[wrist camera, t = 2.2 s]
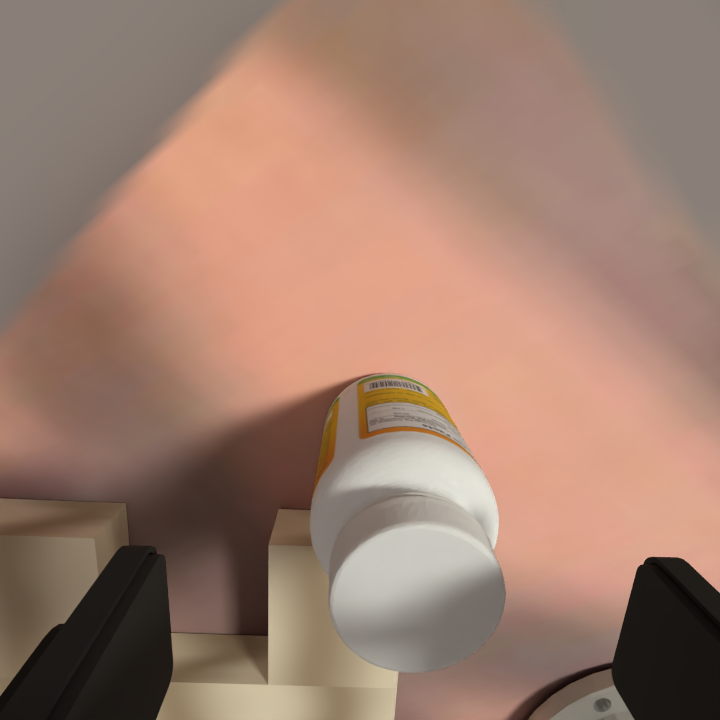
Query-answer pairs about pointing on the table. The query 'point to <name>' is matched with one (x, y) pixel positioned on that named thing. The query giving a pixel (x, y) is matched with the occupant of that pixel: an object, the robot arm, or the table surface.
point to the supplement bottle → (404, 528)
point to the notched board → (190, 651)
